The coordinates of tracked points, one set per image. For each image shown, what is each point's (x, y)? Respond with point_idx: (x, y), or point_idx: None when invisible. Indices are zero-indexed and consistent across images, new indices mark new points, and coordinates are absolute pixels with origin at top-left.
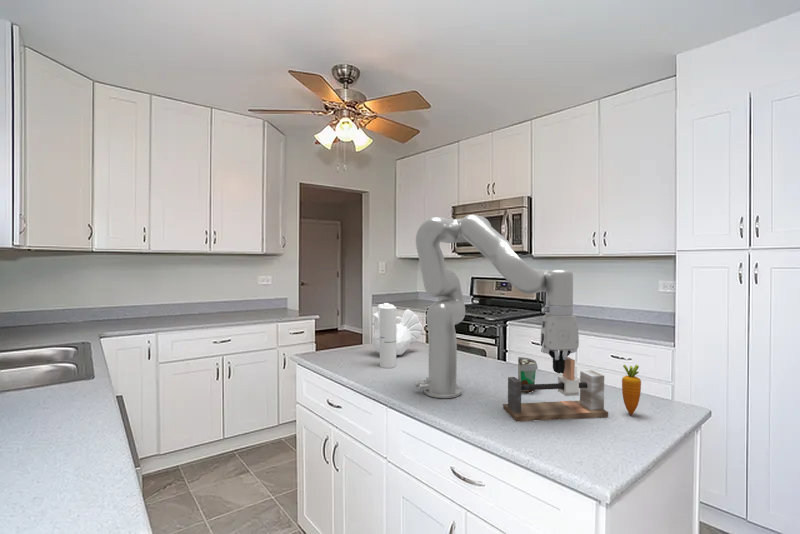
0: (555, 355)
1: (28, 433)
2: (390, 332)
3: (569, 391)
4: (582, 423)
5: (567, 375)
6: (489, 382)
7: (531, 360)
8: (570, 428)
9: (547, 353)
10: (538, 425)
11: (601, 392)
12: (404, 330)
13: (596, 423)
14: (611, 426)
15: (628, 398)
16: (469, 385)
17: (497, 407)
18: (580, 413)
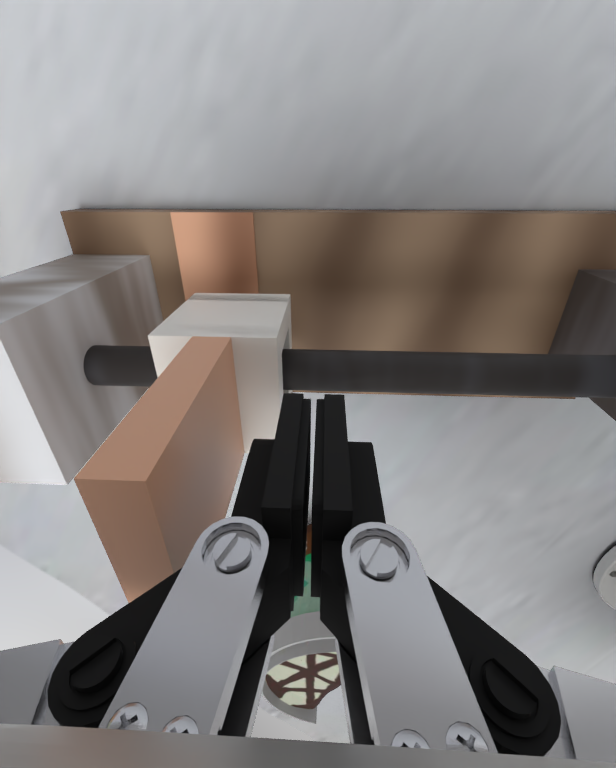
0: (430, 607)
1: None
2: None
3: (259, 303)
4: (264, 130)
5: (229, 404)
6: None
7: (268, 691)
8: (382, 50)
9: (586, 683)
10: (546, 133)
11: (15, 279)
12: None
13: (180, 119)
14: (105, 51)
15: None
16: (509, 601)
17: (572, 404)
18: (235, 211)
